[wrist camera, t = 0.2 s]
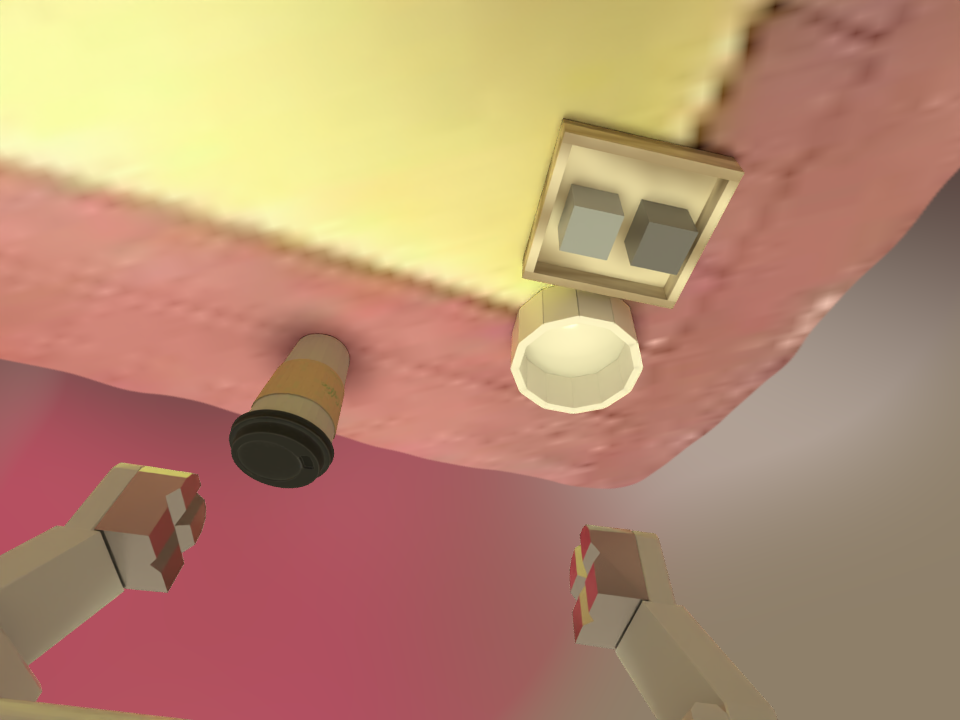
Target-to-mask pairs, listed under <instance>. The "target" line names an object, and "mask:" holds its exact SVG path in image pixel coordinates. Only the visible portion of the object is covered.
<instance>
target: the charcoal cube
mask: <svg viewBox="0 0 960 720" xmlns="http://www.w3.org/2000/svg"><path fill="white" fill-rule="evenodd" d="M698 233H699V232H698V230H697V228H696V226H695V224H694V222H693V220H692V218H691V216H690V213H689V211H688V209H684V208H679V207H675V206H670V205H665V204H661V203H656V202H652V201H647V200H643V199H641V202H640V204H639V207H638V209H637V211H636V214H635V216H634V219H633V221H632V224H631V226H630V228H629V231H628V233H627V236H626V238H625V240H624V243H625V247H626V251H627V255H628V259H629V262H630V266H635V267H640V268H645V269H649V270H654V271H659V272H664V273H668V274H673V275H677V274H678V272H679V270H680V268H681V266H682V264H683V262H684V260H685V258H686V256H687V254H688V252H689V250H690V248H691V246H692V244H693V242H694V240H695V239H696V237H697V235H698Z"/></svg>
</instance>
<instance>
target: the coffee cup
mask: <svg viewBox="0 0 960 720" xmlns="http://www.w3.org/2000/svg"><path fill="white" fill-rule="evenodd" d="M349 362H350V358H349V353H348V351H347V349H346V347H345V346H344V345H343V344H342V343H341V342H340V341H339V340H337V339H336V338H334V337H332V336H329V335H324V334H311V335H307V336H305V337H303V338H301V339H300V340H299V341H298V343H297V344H296V346H295V347H294V348H293V350H292V351H291V353H290V354H289V356H288V357H287V358H286V360H285V361H284V363H282V364H281V365H280V366H279V367H278V368H277V370H276V371H275V373H274V374H273V376H272V377H271V378H270V380H269V381H268V383H267V384H266V385H265V387H264V388H263V390H262V391H261V393H260V394H259V395H258V397H257V398H256V400H255V401H254V403H253V405H252V408H251V410H250V411H249V412H247V413H245V414H243V415H241V416H240V417H238V418H237V419H236V420H235V422H234V423H233V425H232V428H231V432H230V435H229V442H230V446H231V454H232V458H233V460H234V462H235V463H236V465H237V466H238V467H239V468H240V469H241V470H242V471H243V472H244V473H245V474H247V475H248V476H250V477H251V478H253V479H255V480H257V481H259V482H261V483H264V484H267V485H271V486H274V487H281V488H298V487H303V486H305V485H308V484H310V483H312V482H313V481H314V480H315V479H316V478H317V477H319V476H321V475H322V474H323V473H325V472H326V470H327V469H328V467H329V465H330V464H331V463H332V460H333V457H334V449H333V446H332V440H333V439H334V437H335V434H336V430H337V425H338V420H339V416H340V411H341V407H342V402H343V397H344V386H345V381H346V376H347V372H348V367H349Z"/></svg>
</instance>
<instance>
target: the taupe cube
mask: <svg viewBox="0 0 960 720" xmlns="http://www.w3.org/2000/svg"><path fill="white" fill-rule="evenodd" d="M624 217H625V216H624V213H623V209H622V205H621V202H620V198H619V195H618V194H616V193H611V192H607V191H602V190H597V189H593V188H588V187H584V186H579V185H575V184H571V187H570V190H569V193H568V196H567V199H566V202H565V206H564V209H563V212H562V215H561V218H560V221H559V224H558V239H559V251H564V252H569V253H573V254H578V255H583V256H588V257H592V258H597V259H602V260H607V259H608V256H609V254H610V251H611V249H612V246H613V244H614V241H615V239H616V236H617V234H618V232H619V229H620V227H621V224H622V222H623V219H624Z"/></svg>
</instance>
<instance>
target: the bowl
mask: <svg viewBox="0 0 960 720" xmlns="http://www.w3.org/2000/svg"><path fill="white" fill-rule="evenodd" d="M642 369H643V365H642V360H641V355H640V350H639V345H638V340H637V336H636V332H635V328H634V323H633V319H632V315H631V310H630V307H629V306H628V305H627V304H626V303H625V302H624V301H622V300H621V299H620V298H616V297H611V296H607V295H602V294H597V293H592V292H587V291H582V290H577V289H573V288H568V287H563V286H558V285H557V286H553V287H549V288H545V289H543V290H541V291H540V292H538V293H537V294H536V295H535V296H534V297H533V298H531V299H530V300H529V301H528V302H527V303H525V304H524V305H523V306H522V307H521V308H520V309H519V311H518V315H517V318H516V321H515V325H514V328H513V331H512V346H511V371H512V374H513V376H514V379H515V381H516V384H517V386H518V389H519V391H520V393H522V394H523V395H525V396H526V397H528V398H529V399H530V400H532V401H533V402H535V403H536V404H538V405H539V406H540V407H542V408H545V409H550V410H555V411H561V412H566V413H571V414H573V413H574V414H575V413H581V412H587V411H592V410H598V409H603V408H604V407H605V408H606V407H608V406H609V405H611V404H612V403H614V402H615V401H617V400H619V399H620V398H622V397H623V396H625V395H626V394H628V393H630V392H631V390H632V388H633V386H634V384H635V383H636V381H637V379H638V377H639V375H640V373H641V371H642Z"/></svg>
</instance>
